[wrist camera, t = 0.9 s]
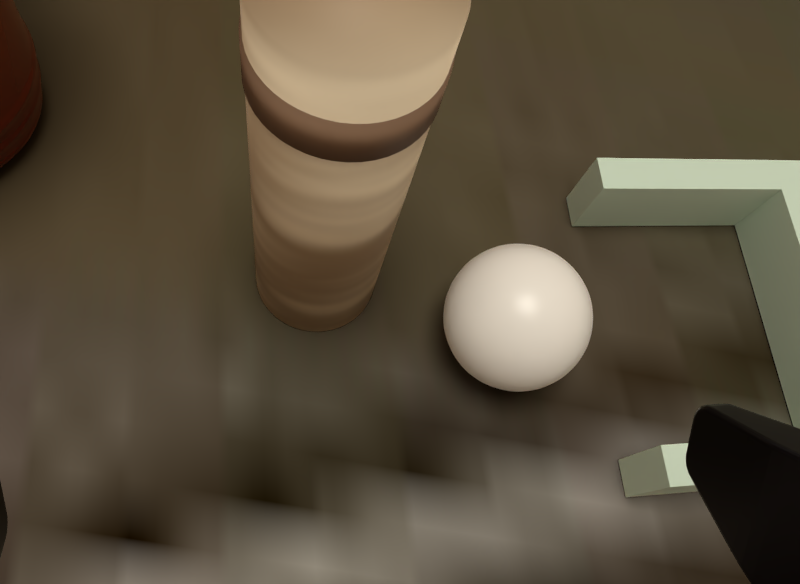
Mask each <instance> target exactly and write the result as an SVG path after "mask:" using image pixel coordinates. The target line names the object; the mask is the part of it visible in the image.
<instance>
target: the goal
mask: <svg viewBox="0 0 800 584" xmlns="http://www.w3.org/2000/svg"><path fill="white" fill-rule="evenodd" d="M566 200H567V205H568V210H569V215H570V220H571V225H572V226H708V225H735V229H736V232H737V235H738V239H739V242H740V246H741V249H742V253H743V256H744V259H745V263H746V266H747V270H748V273H749V277H750V280H751V283H752V287H753V290H754V294H755V297H756V301H757V304H758V307H759V311H760V314H761V318H762V321H763V324H764V328H765V331H766V335H767V338H768V342H769V345H770V348H771V352H772V355H773V359H774V362H775V366H776V369H777V372H778V376H779V379H780V383H781V386H782V390H783V393H784V396H785V400H786V403H787V407H788V410H789V414H790V417H791V420H792V424H793V426H794V427H796V428H799V429H800V161H796V160H721V159H646V158H597V159H596V160H595V161H594V162H593V164H592V165H591V166H590V168H589V169H588V170H587V172H586V173H585V174H584V175H583V177H582V178H581V179H580V181H579V182H578V183H577V185H576V186H575V187H574V188H573V190H572V191H571V192H570V194H569V195H568V196H567V198H566ZM687 447H688V443H683V444H669V445H660V446H657V447H654V448H651V449H648V450H645V451H642V452H639V453H636V454H633V455H631V456H628V457H625V458H622V459H619V460H618V462H619V467H620V472H621V477H622V482H623V487H624V492H625V497H637V496H649V495H661V494H673V493H685V492H697V491H698V490H697V488H696V486H695V485H694V483H693V481H692V479H691V477H690V475H689V473H688V470H687V467H686V452H687Z"/></svg>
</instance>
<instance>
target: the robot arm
mask: <svg viewBox="0 0 800 584" xmlns="http://www.w3.org/2000/svg"><path fill="white" fill-rule="evenodd" d="M686 467H687V470H688V473H689V475H690V477H691V479H692V481H693V483H694V485H695V486H696V488H697V490H698V492H699V494H700V495H701V497H702V499H703V501H704V503H705V505H706V506H707V508H708V510H709V512H710V514H711V515H712V517H713V519H714V521H715V523H716V524H717V526H718V528H719V530H720V532H721V534H722V535H723V537H724V539H725V541H726V543H727V544H728V546H729V548H730V550H731V552H732V553H733V555H734V557H735V559H736V560H737V562H738V564H739V565H740V567H741V569H742V570H743V572H744V573H745V575H746V576H747V578H748V579H749V581H750V583H751V584H800V429H799V428H796V427H794V426H791V425H788V424H785V423H782V422H779V421H777V420H774V419H771V418H768V417H765V416H762V415H760V414H757V413H754V412H751V411H748V410H745V409H743V408H740V407H737V406H734V405H731V404H714V405H704V406H701V407H700V408H699V409H698V410H697V411H696V413H695V415H694V419H693V424H692V429H691V433H690V438H689V443H688V447H687V452H686ZM7 523H8V522H7V512H6V507H5V502H4V497H3V492H2V487H1V482H0V557H1V553H2V550H3V546H4V542H5V539H6V534H7Z"/></svg>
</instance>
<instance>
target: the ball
mask: <svg viewBox="0 0 800 584" xmlns="http://www.w3.org/2000/svg"><path fill="white" fill-rule="evenodd" d="M443 325H444V331H445V335H446V339H447V342H448V344H449V347H450V349H451V351H452V353H453V355H454V356H455V358H456V360H457V361H458V362H459V363H460V365H461V366H462V367H463V368H464V369H465V370H466V371H467V372H468V373H469V374H471V375H472V376H473V377H474V378H476V379H477V380H479V381H481V382H482V383H484V384H487V385H489V386H491V387H494V388H498V389H501V390H506V391H515V392H522V391H532V390H536V389H540V388H543V387H546V386H548V385H551V384H553V383H554V382H556V381H558V380H560V379H561V378H563V377H564V376H565V375H566V374H568V373H569V372H570V371H571V370H572V369H573V368H574V367H575V366H576V364H577V363H578V362H579V360H580V359H581V357H582V356H583V354H584V352H585V350H586V348H587V346H588V344H589V340H590V337H591V333H592V327H593V310H592V303H591V299H590V295H589V293H588V290H587V288H586V286H585V284H584V282H583V280H582V279H581V277H580V276H579V274H578V273H577V272H576V271H575V269H574V268H573V267H572V266H571V265H570V264H569V263H568V262H567V261H565V260H564V259H563V258H561V257H560V256H558V255H557V254H555V253H553V252H551V251H549V250H547V249H545V248H541V247H538V246H534V245H529V244H506V245H501V246H498V247H494V248H491V249H488V250H486V251H484V252H482V253H480V254H479V255H477V256H476V257H474V258H473V259H471V260H470V261H469V262H468V263H467V264H466V265H465V266H464V267H463V268H462V269H461V270H460V271H459V273H458V274H457V275H456V277H455V278H454V280H453V281H452V283H451V286H450V288H449V290H448V293H447V295H446V299H445V303H444V311H443Z"/></svg>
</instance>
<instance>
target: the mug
mask: <svg viewBox="0 0 800 584" xmlns="http://www.w3.org/2000/svg"><path fill="white" fill-rule="evenodd" d="M41 108H42V86H41V74H40V67H39V63H38V59H37V57H36V51H35V47H34V43H33V39H32V37H31V34H30V32H29V30H28V28H27V26H26V24H25V23H24V21H23V20H22V18H21V17H20V14H19V12H18V10H17V8H16V5H15V3H14V1H13V0H0V167H2V166H3V165H5V164H6V163H7V162H8V161H10V160H11V159H12V158H13V157H14V156H15V155H16V154H17V153H18V152H19V151H20V150H21V149H22V148H23V146H24V145H25V144H26V143H27V141H28V140H29V138H30V137H31V135H32V133H33V131H34V130H35V128H36V125H37V123H38V120H39V117H40V113H41Z"/></svg>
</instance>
